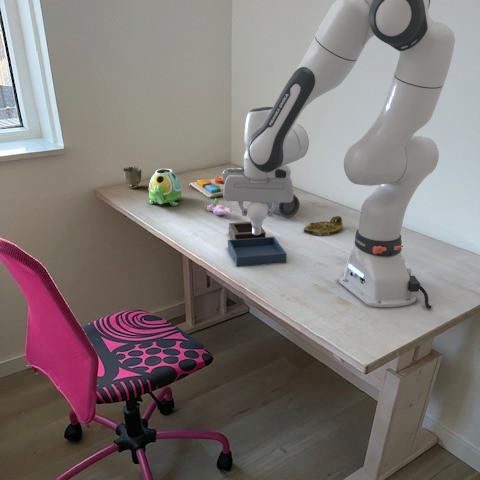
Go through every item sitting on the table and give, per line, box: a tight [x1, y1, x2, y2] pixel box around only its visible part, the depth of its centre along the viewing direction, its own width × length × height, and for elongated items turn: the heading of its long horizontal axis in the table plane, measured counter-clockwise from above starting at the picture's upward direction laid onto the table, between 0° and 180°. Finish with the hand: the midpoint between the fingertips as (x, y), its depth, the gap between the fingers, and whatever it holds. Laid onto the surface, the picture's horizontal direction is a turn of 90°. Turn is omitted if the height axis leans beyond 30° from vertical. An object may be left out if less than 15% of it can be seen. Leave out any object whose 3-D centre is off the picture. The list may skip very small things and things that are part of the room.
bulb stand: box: [228, 221, 266, 240], centre depth 166 cm, size 10×10×4 cm
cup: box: [122, 166, 142, 190], centre depth 208 cm, size 8×7×8 cm
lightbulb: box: [246, 202, 269, 236], centre depth 149 cm, size 6×6×11 cm
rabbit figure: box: [205, 197, 232, 216], centre depth 184 cm, size 6×6×15 cm
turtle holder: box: [148, 168, 182, 207], centre depth 191 cm, size 12×18×12 cm
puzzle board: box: [188, 175, 225, 199], centre depth 209 cm, size 18×19×3 cm
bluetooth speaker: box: [265, 193, 301, 218], centre depth 188 cm, size 23×9×10 cm, turn 22°
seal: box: [303, 215, 344, 236], centre depth 173 cm, size 9×5×15 cm
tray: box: [227, 236, 287, 267], centre depth 155 cm, size 13×15×3 cm
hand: (257, 215), depth 149 cm, fingers closed on lightbulb, 6 cm apart
